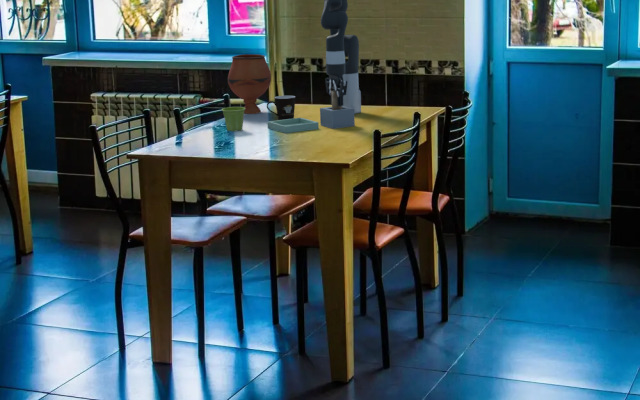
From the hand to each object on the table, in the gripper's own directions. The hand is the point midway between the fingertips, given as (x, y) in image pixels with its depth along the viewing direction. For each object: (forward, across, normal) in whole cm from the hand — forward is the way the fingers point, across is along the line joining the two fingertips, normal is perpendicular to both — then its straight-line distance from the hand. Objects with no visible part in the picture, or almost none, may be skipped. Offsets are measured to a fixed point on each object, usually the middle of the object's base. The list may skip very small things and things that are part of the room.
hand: (336, 104), depth 414 cm
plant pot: (+9, +18, +37) cm, 42 cm away
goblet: (+9, +55, +12) cm, 57 cm away
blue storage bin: (+8, 0, 0) cm, 8 cm away
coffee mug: (+9, +25, +12) cm, 29 cm away
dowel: (+8, 0, 0) cm, 8 cm away
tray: (+8, +6, +17) cm, 20 cm away
